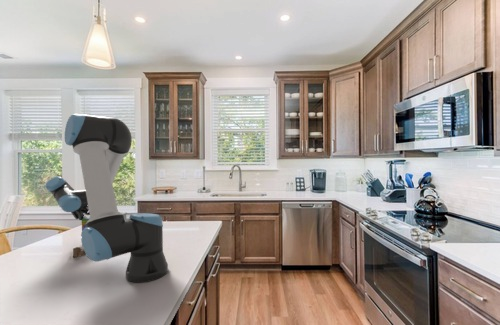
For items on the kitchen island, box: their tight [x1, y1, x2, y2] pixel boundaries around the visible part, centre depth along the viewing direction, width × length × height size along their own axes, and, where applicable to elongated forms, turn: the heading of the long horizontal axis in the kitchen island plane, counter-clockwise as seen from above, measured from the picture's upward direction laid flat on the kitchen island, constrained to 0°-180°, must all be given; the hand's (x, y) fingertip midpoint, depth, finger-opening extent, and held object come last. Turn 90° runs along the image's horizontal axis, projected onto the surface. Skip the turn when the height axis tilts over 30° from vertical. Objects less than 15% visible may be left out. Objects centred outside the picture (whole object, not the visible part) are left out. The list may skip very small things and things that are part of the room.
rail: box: [72, 246, 86, 258], centre depth 135 cm, size 37×2×4 cm, turn 169°
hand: (98, 224), depth 143 cm, fingers closed on chalk box, 10 cm apart
